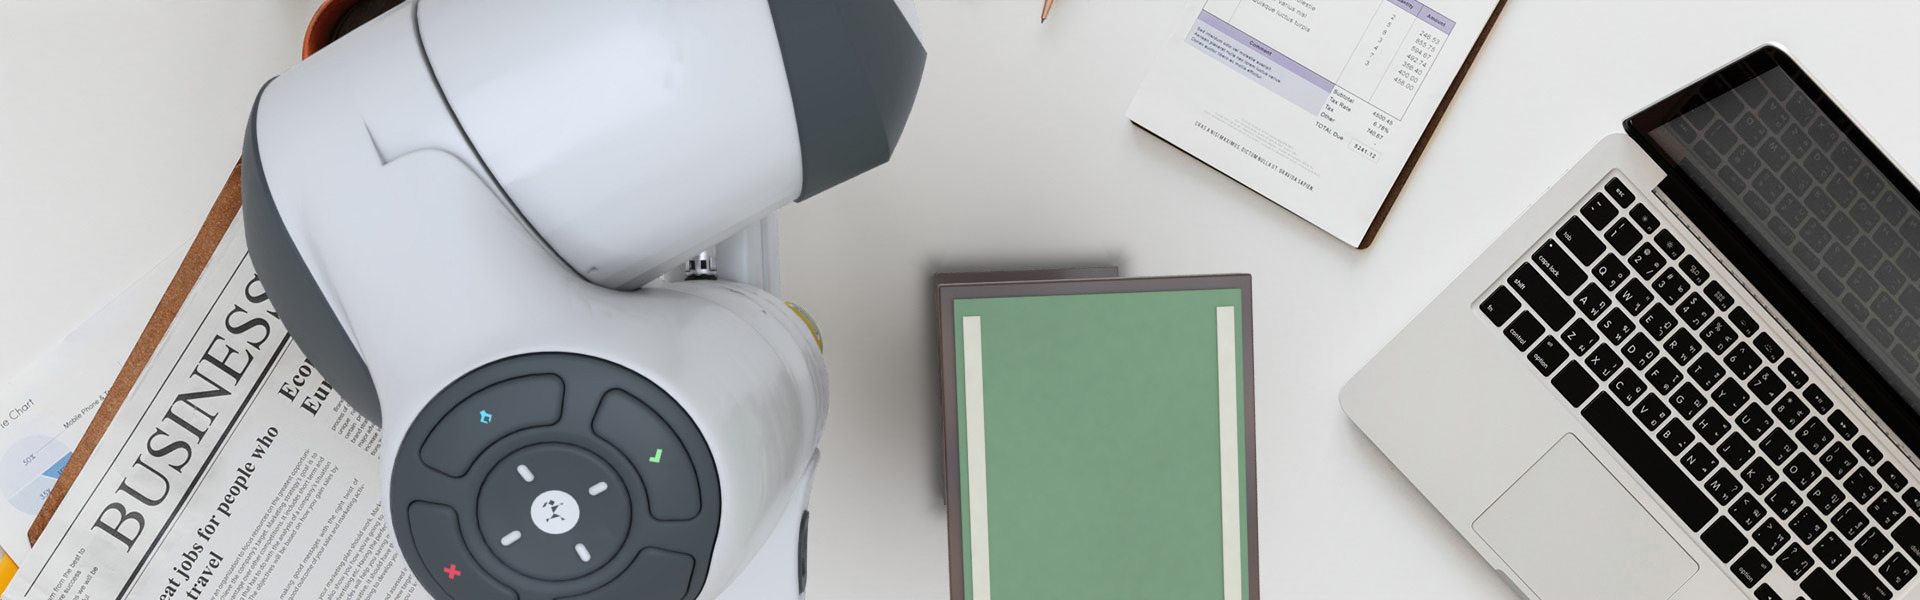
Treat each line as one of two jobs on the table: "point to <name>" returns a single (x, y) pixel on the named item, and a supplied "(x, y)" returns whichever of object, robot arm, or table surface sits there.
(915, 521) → the table surface
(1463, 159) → the table surface
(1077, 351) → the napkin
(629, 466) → the robot arm
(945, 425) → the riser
